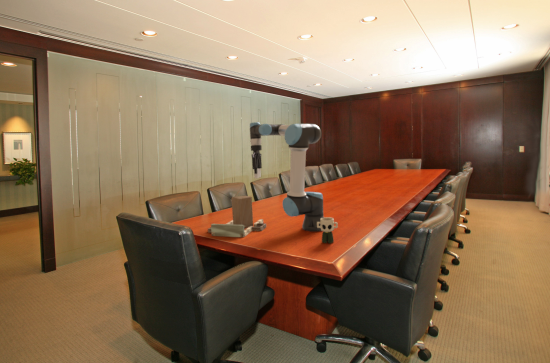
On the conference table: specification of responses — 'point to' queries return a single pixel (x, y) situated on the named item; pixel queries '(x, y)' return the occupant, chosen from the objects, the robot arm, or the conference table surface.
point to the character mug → (327, 229)
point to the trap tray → (235, 229)
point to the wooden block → (242, 211)
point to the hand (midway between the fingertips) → (257, 177)
